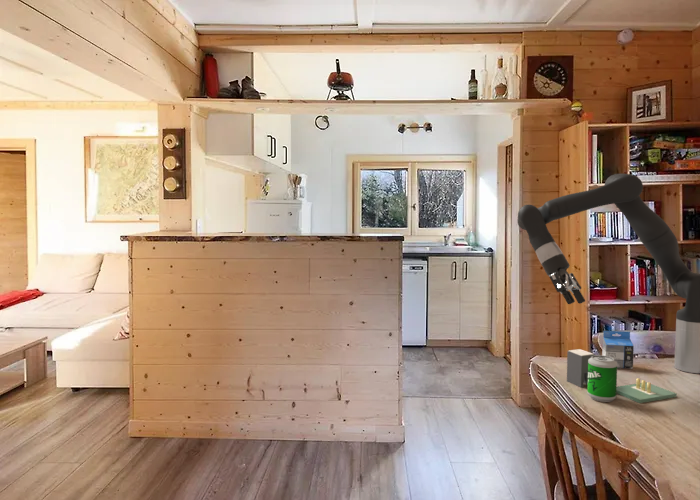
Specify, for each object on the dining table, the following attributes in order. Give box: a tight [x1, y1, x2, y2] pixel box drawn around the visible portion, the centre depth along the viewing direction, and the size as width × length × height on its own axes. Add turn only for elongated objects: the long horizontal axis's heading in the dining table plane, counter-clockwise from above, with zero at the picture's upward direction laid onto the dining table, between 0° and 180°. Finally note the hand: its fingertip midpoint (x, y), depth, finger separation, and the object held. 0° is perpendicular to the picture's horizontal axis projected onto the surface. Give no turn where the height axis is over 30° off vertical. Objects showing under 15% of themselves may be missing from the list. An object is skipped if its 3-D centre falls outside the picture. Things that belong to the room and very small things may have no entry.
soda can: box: [586, 354, 618, 403], centre depth 138 cm, size 8×8×12 cm
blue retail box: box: [601, 330, 635, 370], centre depth 166 cm, size 9×4×12 cm, turn 77°
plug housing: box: [566, 348, 595, 389], centre depth 150 cm, size 5×6×10 cm
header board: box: [616, 377, 678, 404], centre depth 141 cm, size 14×10×4 cm
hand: (577, 302), depth 150 cm, fingers open, 8 cm apart
